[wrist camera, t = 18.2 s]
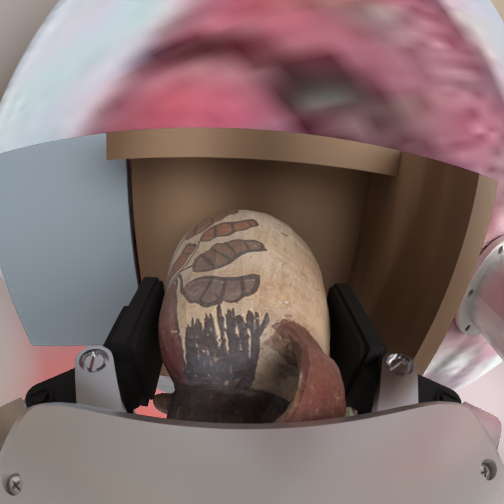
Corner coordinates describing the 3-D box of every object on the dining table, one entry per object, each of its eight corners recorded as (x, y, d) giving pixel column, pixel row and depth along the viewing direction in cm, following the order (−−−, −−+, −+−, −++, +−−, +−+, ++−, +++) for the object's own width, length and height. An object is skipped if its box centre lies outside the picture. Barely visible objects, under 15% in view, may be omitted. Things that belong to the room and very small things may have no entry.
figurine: (147, 272, 14) (49, 498, 3) (244, 173, 12) (272, 512, 1) (242, 345, 16) (248, 546, 5) (337, 274, 14) (444, 491, 4)
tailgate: (126, 131, 12) (-19, 159, 9) (148, 341, 18) (32, 345, 15) (130, 130, 14) (-4, 154, 11) (148, 324, 20) (38, 329, 17)
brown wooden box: (368, 144, 16) (498, 181, 6) (333, 320, 22) (379, 433, 12) (148, 129, 15) (31, 144, 5) (161, 316, 21) (124, 437, 11)
